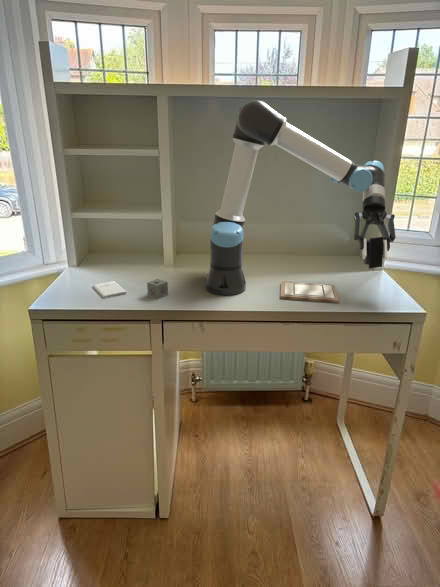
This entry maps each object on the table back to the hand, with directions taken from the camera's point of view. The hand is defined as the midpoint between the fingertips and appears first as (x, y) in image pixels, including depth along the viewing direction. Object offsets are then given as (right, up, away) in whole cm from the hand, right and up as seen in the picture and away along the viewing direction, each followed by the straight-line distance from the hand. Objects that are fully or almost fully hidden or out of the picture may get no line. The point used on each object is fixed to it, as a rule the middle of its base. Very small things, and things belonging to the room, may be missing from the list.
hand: (374, 258), depth 141 cm
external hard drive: (-92, -12, +11) cm, 94 cm away
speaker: (0, -2, +5) cm, 5 cm away
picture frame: (-20, -12, +11) cm, 26 cm away
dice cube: (-74, -13, +7) cm, 76 cm away
